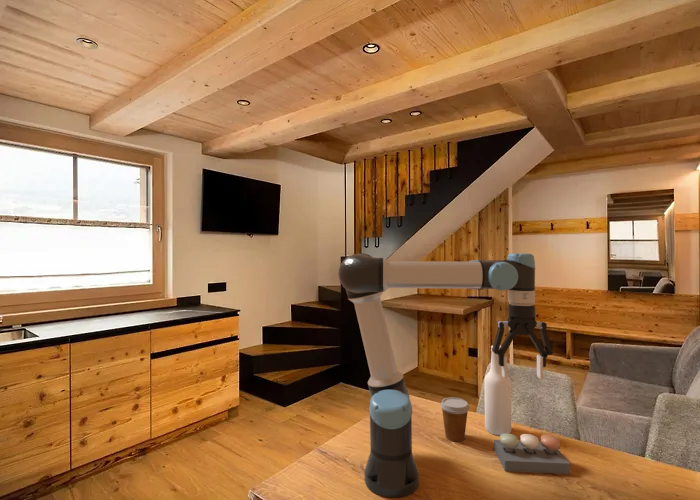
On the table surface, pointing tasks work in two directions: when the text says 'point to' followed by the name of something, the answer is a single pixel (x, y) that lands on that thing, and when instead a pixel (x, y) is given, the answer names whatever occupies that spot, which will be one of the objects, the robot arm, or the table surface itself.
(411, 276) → the robot arm
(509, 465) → the button board
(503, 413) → the alcohol
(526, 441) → the ivory button
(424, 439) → the table surface
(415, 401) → the table surface
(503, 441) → the sage button
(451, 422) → the disposable coffee cup
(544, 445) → the terracotta button
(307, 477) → the table surface
